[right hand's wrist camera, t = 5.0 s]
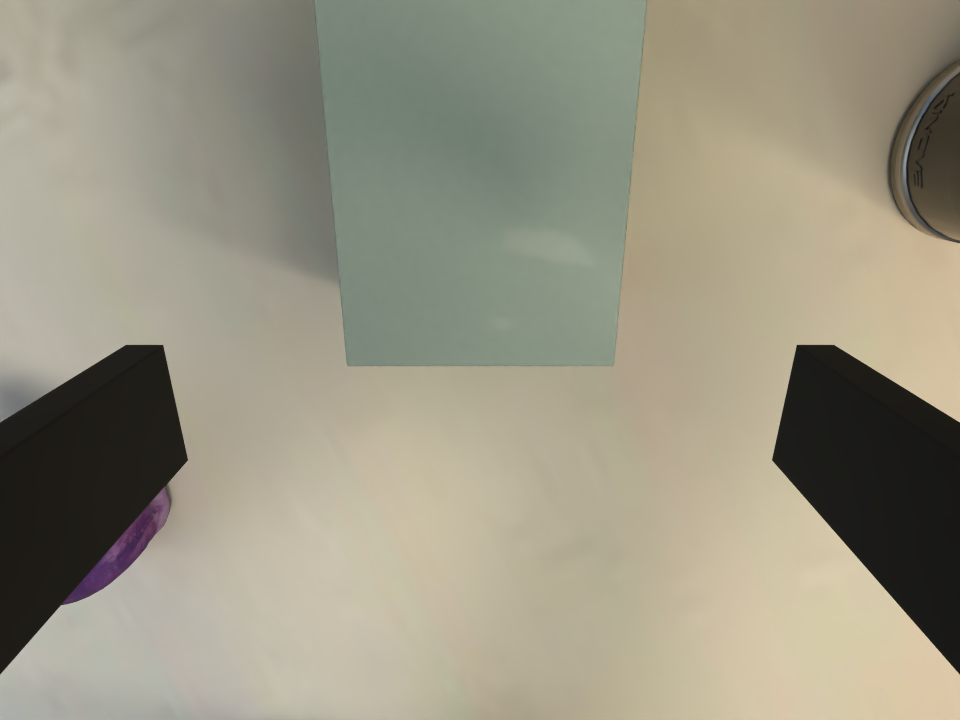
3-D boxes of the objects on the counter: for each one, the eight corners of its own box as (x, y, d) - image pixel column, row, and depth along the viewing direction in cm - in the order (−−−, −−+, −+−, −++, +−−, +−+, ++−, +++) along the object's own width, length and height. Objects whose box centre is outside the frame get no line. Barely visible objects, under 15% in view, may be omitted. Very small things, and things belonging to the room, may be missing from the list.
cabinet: (353, -145, 25) (287, -289, 17) (607, -145, 25) (674, -290, 17) (382, 303, 33) (346, 366, 24) (578, 303, 33) (614, 366, 24)
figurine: (55, 372, 34) (-240, 542, 20) (207, 471, 36) (39, 684, 23) (-14, 476, 37) (-317, 691, 23) (133, 562, 39) (-60, 803, 25)
